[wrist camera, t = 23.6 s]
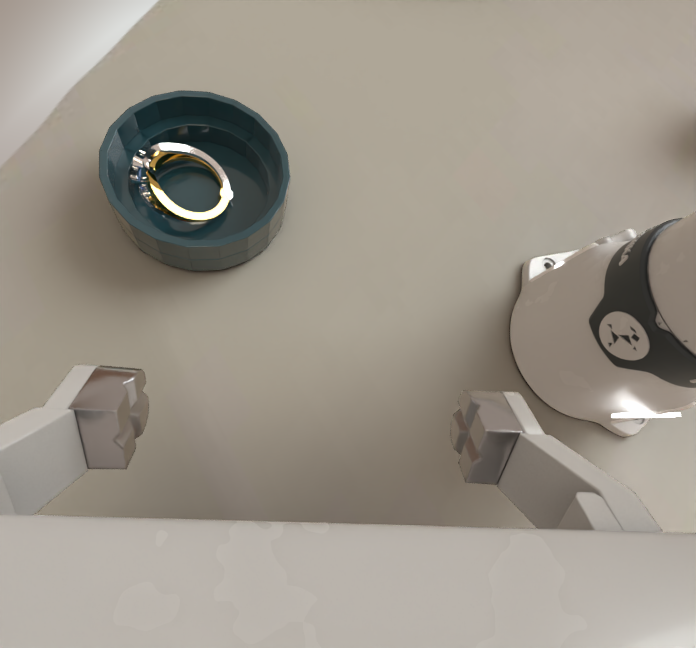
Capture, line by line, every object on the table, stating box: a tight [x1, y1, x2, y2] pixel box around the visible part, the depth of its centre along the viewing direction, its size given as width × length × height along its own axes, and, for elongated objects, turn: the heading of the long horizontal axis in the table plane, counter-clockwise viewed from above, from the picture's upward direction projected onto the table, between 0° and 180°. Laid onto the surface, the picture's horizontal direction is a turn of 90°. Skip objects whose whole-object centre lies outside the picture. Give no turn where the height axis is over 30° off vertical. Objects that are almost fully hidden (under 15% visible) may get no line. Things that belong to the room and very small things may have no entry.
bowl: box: [99, 90, 290, 271], centre depth 38 cm, size 14×14×5 cm
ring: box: [130, 143, 233, 225], centre depth 38 cm, size 7×3×8 cm
